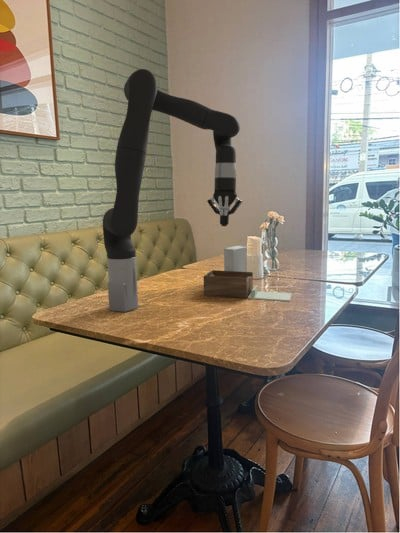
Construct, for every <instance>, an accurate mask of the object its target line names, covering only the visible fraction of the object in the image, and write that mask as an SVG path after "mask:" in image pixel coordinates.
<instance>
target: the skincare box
mask: <svg viewBox="0 0 400 533" xmlns="http://www.w3.org/2000/svg"><path fill="white" fill-rule="evenodd" d="M223 262H224V263H223V264H224V265H223V268H224V269H223V271H239V272H248V247H247V246H244V245H233V246H230V247H224V248H223Z"/></svg>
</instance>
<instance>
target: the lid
mask: <svg viewBox="0 0 400 533" xmlns="http://www.w3.org/2000/svg"><path fill="white" fill-rule="evenodd" d="M292 294H293V292H280V291H279V292H277V291H276V292H275V291H259V285H258V284H256V285H253V289H252V290H251V294H250V295H249V296H248V297H247V299H248V300H250V299H251V300H262V301H277V302H279V301H280V302H291V298H292Z"/></svg>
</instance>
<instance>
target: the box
mask: <svg viewBox="0 0 400 533" xmlns="http://www.w3.org/2000/svg"><path fill="white" fill-rule="evenodd" d="M253 276H254V272H253V271H247V272H239V271H224V270H217V269H214V270H213V269H212V270H210V271H209V272H207V273H206V274H205V275H203V296H204V297H218V298H233V299H248V297H249V295H250V294H251V290H252V289H253V287H254V284H253V283H254V279H253Z"/></svg>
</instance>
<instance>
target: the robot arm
mask: <svg viewBox="0 0 400 533" xmlns="http://www.w3.org/2000/svg"><path fill="white" fill-rule="evenodd" d="M123 93H124V96H125V98H126V100H127V109H126V110H127V111H126V115H125V119H124V121H123V124H122V127H121V129H120V130H121V131H120V133H119V137H118V140H117V146H116V151H115V158H114V173H115V182H116V193H115V199H114V204H113V207H112V208H109V209H108V210H106V211H105V213H104V214H103V218H102V234H103V243H104V248H105V251H106V252H105V253H106V258H107V259H106V260H107V274H108V276H107V277H108V279H107V280H108V282H107V295H108V296H107V297H108V310H109V311H112V312H123V313H126V312H128V311H133V310H136V309H138V308H139V294H138V278H137V277H138V276H137V273H138V272H137V255H136V254H137V252H136V248H135V246H134V244H133V242H132V235H133V233H135V231H136V229H137V226H138V220H139V217H138V216H139V202H140V201H139V200H140V192H141V186H142V180H143V176H144V170H145V169H144V168H145V163H146V157H147V151H148V150H147V149H148V143H149V142H148V141H149V132H150V122H151V116H152V113H153V111H156V112H159V113H161V114H166V115H167V116H171V117H173V118H176V119H179V120H180V121H183V122H185V123H187V124H189V125H192V126H194V127H196V128H199V129H201V130H211V131H212V134H213V136H212V137H213V144H214V148H215V166H214V189H213V190H214V192H213V195H212V197H211V198H210V199H207V201H206V202H207V203H208V205H209V206H210V209H212V211H213V212H214V213H215V214H216V215H219V224H220V225H221V227H227V226H228V225H229V222H230V220H229V219H230V215H233V214H234V213H235V212H236V211H237V210H238V209H239V207H240V206H241V205H242V203H243V199H240V198H239V197H238V196H237V189H236V188H237V165H236V162H237V161H236V159H237V153H236V151H237V150H236V148H235V147H234V146H233V145H232V144H233V143H232V138H234V137H236V136H237V135H238V133H239V132H240V129H241V125H240V121H239V119H237V118H236V117H235V116H233V115H232V114H229V113H225V112H223V111H219V110H215V109H214V110H213V109H212V108H210V107H208V106H206V105H204V104H201V103H199V102H197V101H194V100H191V99H187V98H183V97H178V96H174V95H171V94H168V93H166V92H164V91H161V90H159V89H158V81H157V79H156V77H155V75H154V73H152V72H151V71H150V70H148V69H145V68H140V69H137V70H135V71H134V72H132V73H131V74H130V76H129V77H128V78H127V79H126V82H125V83H124V85H123ZM216 203H217V204H216ZM233 203H234V205H233ZM217 205H218V206H217ZM232 205H233V206H232Z"/></svg>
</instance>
